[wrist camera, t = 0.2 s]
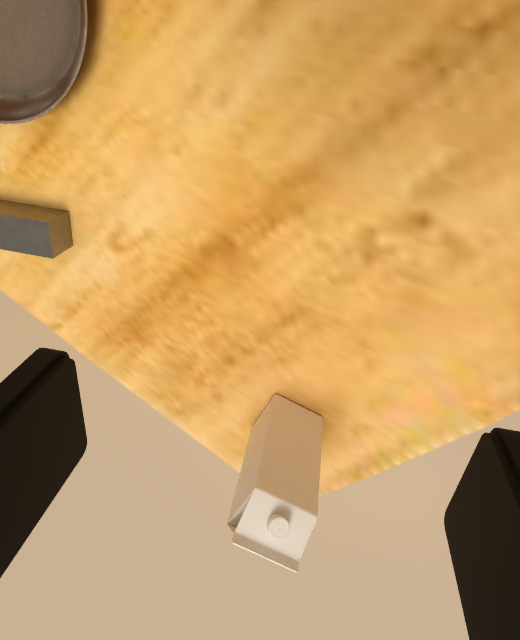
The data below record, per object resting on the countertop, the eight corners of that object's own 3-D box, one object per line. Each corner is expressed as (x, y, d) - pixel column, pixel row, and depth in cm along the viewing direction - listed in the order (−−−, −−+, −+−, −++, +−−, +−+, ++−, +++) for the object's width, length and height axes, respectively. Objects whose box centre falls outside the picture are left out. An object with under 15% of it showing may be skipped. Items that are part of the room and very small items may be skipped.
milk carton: (297, 448, 60) (280, 588, 44) (251, 426, 60) (217, 560, 44) (323, 416, 57) (315, 555, 41) (275, 392, 56) (247, 523, 40)
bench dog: (-15, 197, 49) (-42, 206, 46) (69, 211, 48) (48, 222, 45) (-8, 231, 51) (-33, 243, 48) (72, 245, 50) (53, 258, 47)
